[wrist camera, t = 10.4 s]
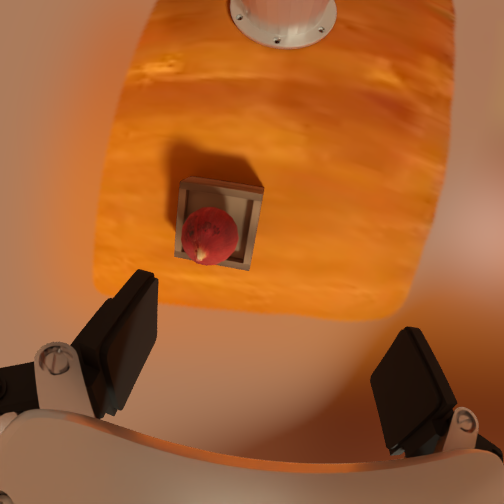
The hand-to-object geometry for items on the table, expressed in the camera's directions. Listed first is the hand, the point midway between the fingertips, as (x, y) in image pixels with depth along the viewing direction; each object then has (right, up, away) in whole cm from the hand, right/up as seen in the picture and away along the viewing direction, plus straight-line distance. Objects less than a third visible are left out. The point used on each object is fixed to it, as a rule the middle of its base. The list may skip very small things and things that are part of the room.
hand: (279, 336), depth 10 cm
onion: (-5, +6, +22) cm, 24 cm away
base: (-5, +7, +25) cm, 26 cm away
